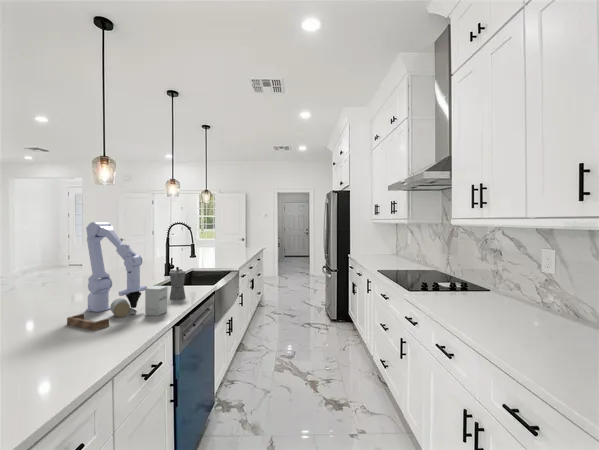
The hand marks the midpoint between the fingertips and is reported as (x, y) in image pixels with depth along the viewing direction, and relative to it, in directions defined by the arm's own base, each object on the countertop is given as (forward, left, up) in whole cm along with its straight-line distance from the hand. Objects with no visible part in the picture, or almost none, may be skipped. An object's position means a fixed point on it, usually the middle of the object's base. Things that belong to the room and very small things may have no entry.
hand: (133, 307), depth 161 cm
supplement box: (+12, +3, -2) cm, 13 cm away
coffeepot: (-4, +32, -2) cm, 32 cm away
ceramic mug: (+1, -6, -2) cm, 6 cm away
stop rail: (0, -22, -2) cm, 23 cm away
